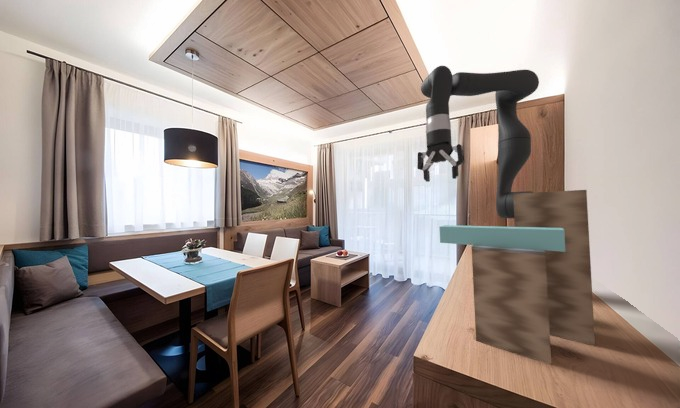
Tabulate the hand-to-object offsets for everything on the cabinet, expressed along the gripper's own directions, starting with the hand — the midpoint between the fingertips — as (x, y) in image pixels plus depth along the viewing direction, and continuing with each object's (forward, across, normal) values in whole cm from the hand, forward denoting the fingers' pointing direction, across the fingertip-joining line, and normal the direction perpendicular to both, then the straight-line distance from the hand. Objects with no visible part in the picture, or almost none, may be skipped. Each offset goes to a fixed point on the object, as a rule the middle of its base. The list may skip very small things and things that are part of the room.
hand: (440, 180), depth 74 cm
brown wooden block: (+38, -19, +18) cm, 46 cm away
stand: (+38, -26, +6) cm, 46 cm away
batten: (+18, -16, +18) cm, 30 cm away
